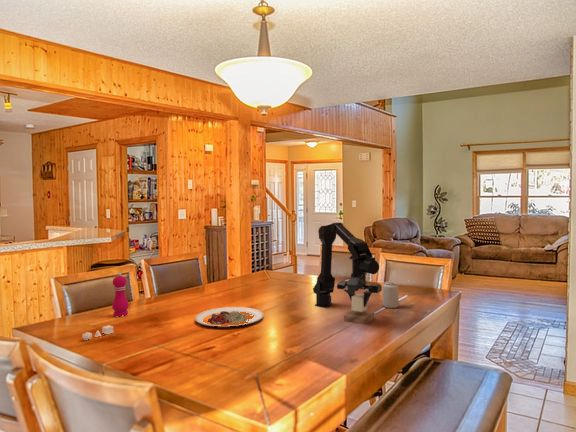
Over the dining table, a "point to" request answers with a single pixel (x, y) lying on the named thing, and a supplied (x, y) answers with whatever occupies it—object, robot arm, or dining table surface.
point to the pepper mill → (120, 296)
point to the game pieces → (105, 330)
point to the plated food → (229, 316)
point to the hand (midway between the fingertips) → (359, 306)
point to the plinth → (359, 317)
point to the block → (358, 303)
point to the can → (390, 295)
